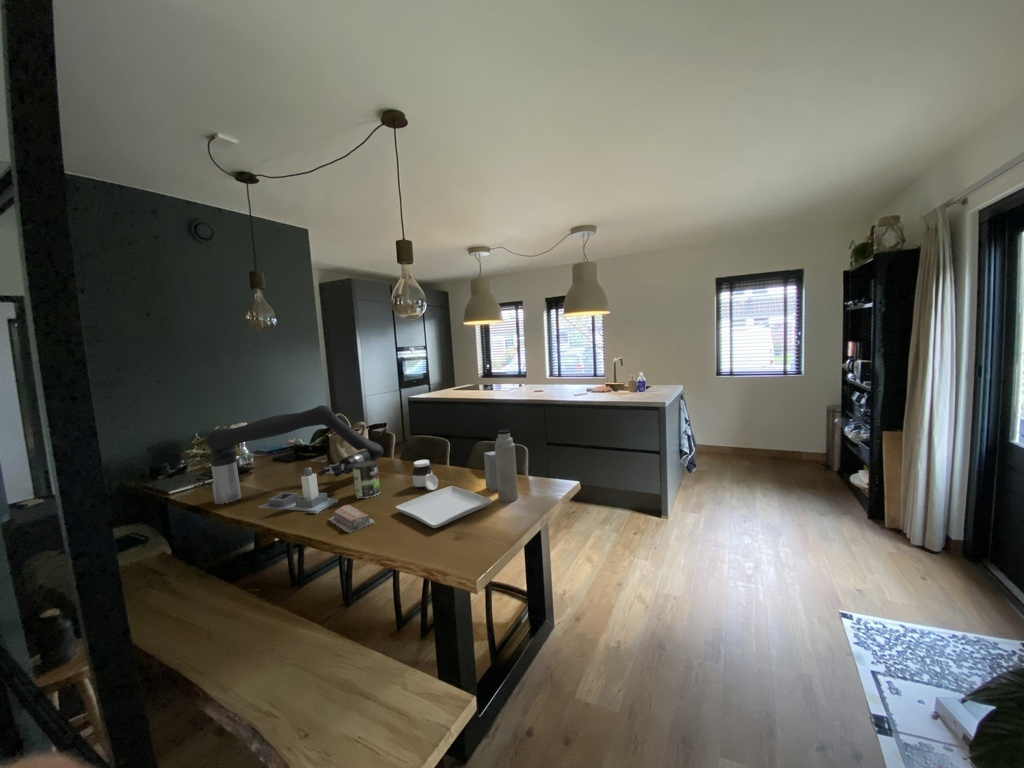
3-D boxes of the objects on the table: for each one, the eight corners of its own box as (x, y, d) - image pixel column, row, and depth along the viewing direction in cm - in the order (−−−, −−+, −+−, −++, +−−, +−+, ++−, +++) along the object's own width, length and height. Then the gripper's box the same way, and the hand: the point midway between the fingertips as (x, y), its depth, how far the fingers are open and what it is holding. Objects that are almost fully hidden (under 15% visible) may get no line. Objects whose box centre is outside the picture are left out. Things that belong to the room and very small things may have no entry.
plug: (304, 504, 167) (300, 469, 166) (311, 501, 171) (307, 466, 169) (312, 505, 166) (307, 469, 164) (319, 501, 170) (315, 466, 168)
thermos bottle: (505, 493, 169) (500, 427, 166) (521, 496, 165) (517, 428, 162) (494, 500, 162) (489, 432, 160) (511, 503, 158) (506, 433, 155)
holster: (257, 509, 169) (256, 501, 169) (285, 497, 182) (284, 489, 182) (283, 511, 165) (282, 503, 165) (309, 498, 178) (308, 491, 178)
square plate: (451, 493, 175) (451, 484, 174) (494, 508, 155) (493, 499, 155) (394, 514, 156) (393, 504, 156) (434, 535, 137) (433, 524, 136)
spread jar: (419, 483, 190) (417, 458, 188) (442, 482, 188) (440, 458, 187) (409, 492, 178) (407, 466, 177) (434, 492, 176) (432, 466, 175)
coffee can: (384, 490, 183) (381, 459, 182) (373, 498, 173) (369, 466, 172) (363, 490, 185) (360, 460, 183) (351, 498, 175) (347, 467, 173)
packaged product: (374, 512, 148) (347, 522, 141) (375, 524, 148) (349, 535, 141) (352, 500, 160) (327, 509, 153) (354, 512, 161) (328, 521, 154)
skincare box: (491, 492, 172) (489, 455, 170) (485, 487, 178) (482, 452, 176) (509, 487, 175) (507, 452, 174) (502, 483, 182) (499, 448, 180)
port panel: (285, 511, 165) (284, 500, 165) (308, 500, 177) (307, 490, 176) (317, 514, 160) (315, 503, 160) (338, 502, 172) (337, 491, 171)
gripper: (338, 455, 194) (312, 465, 178) (363, 455, 189) (339, 466, 174) (340, 470, 195) (314, 482, 179) (365, 471, 190) (341, 483, 175)
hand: (326, 474), depth 177 cm, fingers open, 8 cm apart
